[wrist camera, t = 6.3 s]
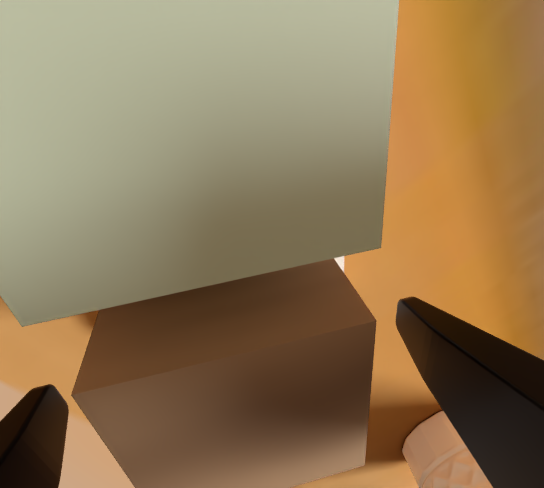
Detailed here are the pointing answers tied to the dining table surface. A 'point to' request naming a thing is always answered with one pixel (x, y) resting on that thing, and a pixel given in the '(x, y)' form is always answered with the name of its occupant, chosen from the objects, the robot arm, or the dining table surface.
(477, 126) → the dining table surface
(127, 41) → the l-shaped block
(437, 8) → the dining table surface
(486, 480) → the white cup
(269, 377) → the walnut cube
